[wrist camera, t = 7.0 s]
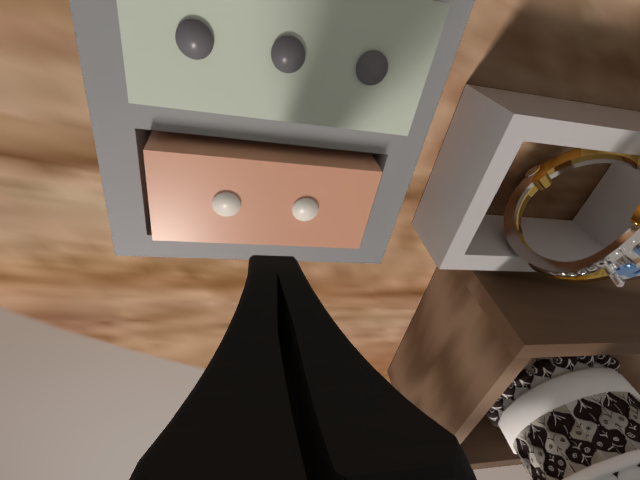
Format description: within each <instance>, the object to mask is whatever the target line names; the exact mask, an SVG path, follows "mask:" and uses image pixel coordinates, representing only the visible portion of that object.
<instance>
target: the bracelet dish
mask: <svg viewBox="0 0 640 480" xmlns="http://www.w3.org/2000/svg"><path fill="white" fill-rule="evenodd" d="M523 141H527V142H535V143H543V144H551V145H559V146H567V147H575V148H583V149H591V150H599V151H607V152H615V153H623V154H631V155H640V112H638V111H632V110H626V109H619V108H613V107H607V106H601V105H594V104H588V103H582V102H576V101H569V100H563V99H557V98H551V97H544V96H538V95H532V94H526V93H519V92H513V91H507V90H501V89H494V88H488V87H482V86H476V85H469V84H466V85H465V88H464V91H463V93H462V96H461V98H460V101H459V103H458V106H457V108H456V111H455V114H454V116H453V119H452V121H451V124H450V126H449V129H448V132H447V134H446V137H445V139H444V142H443V144H442V147H441V150H440V152H439V155H438V157H437V160H436V162H435V165H434V168H433V170H432V173H431V175H430V178H429V180H428V183H427V185H426V188H425V191H424V193H423V196H422V198H421V201H420V203H419V206H418V209H417V211H416V214H415V216H414V219H413V221H412V226H413V227H414V229H415V230H416V232H417V234H418V235H419V237H420V239H421V240H422V242H423V244H424V245H425V247H426V249H427V250H428V252H429V253H430V255H431V257H432V258H433V260H434V262H435V263H436V265H437V267H438V268H439V269H451V270H487V271H522V272H536V271H534V270H533V269H532V268H530V267H529V266H528V265H527V264H526V263H525V262H524V261H523V260H522V259H521V258H520V257H519V256H518V255H517V254H516V253H515V252H514V250H513V249H512V248H511V246H510V245H509V243H508V241H507V238H506V235H505V231H504V216H501V215H487V214H486V212H487V210H488V208H489V206H490V204H491V202H492V200H493V198H494V196H495V194H496V193H497V191H498V189H499V187H500V185H501V183H502V181H503V179H504V177H505V175H506V173H507V171H508V169H509V168H510V166H511V164H512V162H513V160H514V158H515V156H516V154H517V152H518V150H519V148H520V146H521V144H522V142H523ZM639 202H640V171H638V170H637V169H634V168H632V167H629V166H626V165H621V164H614V163H612V164H611V165H610V167H609V168H608V170H607V171H606V173H605V174H604V176H603V177H602V178H601V180H600V181H599V183H598V184H597V186H596V187H595V189H594V190H593V191H592V193H591V194H590V196H589V197H588V199H587V200H586V202H585V203H584V205H583V206H582V207H581V209H580V210H579V212H578V213H577V215H576V216H575V218H574V219H573V220H560V219H545V218H531V217H522V221H521V227H522V233H523V236H524V239H525V241H526V243H527V244H528V246H529V247H530V248H531V249H532V250H533V251H534V252H536V253H537V254H539V255H540V256H543V257H545V258H548V259H551V260H555V261H560V262H572V261H578V260H581V259H584V258H587V257H589V256H591V255H593V254H595V253H597V252H599V251H601V250H602V249H604V248H605V247H607V246H608V245H610V244H611V243H613V242H614V241H615V240H616V239H618V238H619V237H620V236H621V235H623V234H624V233H625V232H626V231H627V230H628V229H629V228H631V227H632V226H633V225H636V224H635V223H633V222H630V219H631V217H632V216H633V214H634V212H635V210H636V208H637V207H638V204H639Z"/></svg>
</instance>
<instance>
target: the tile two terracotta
mask: <svg viewBox="0 0 640 480" xmlns="http://www.w3.org/2000/svg"><path fill="white" fill-rule="evenodd" d="M143 154H144V164H145V173H146V183H147V192H148V202H149V212H150V221H151V231H152V240H156V241H181V242H206V243H230V244H255V245H280V246H305V247H330V248H355V249H359V248H360V245H361V241H362V238H363V235H364V231H365V228H366V225H367V222H368V218H369V215H370V212H371V209H372V205H373V202H374V199H375V195H376V192H377V189H378V186H379V182H380V179H381V176H382V170H381V168H380V167H379V165H378V164H377V162H376V160H375V159H374V157H373V156H372V154H371V153H367V152H358V151H348V150H338V149H329V148H319V147H310V146H300V145H290V144H281V143H271V142H262V141H252V140H242V139H233V138H223V137H214V136H204V135H194V134H185V133H175V132H166V131H156V130H152V132H151V134H150V137H149V139H148V141H147V143H146V145H145V147H144V149H143Z"/></svg>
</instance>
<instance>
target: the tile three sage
mask: <svg viewBox="0 0 640 480" xmlns="http://www.w3.org/2000/svg"><path fill="white" fill-rule="evenodd" d="M116 1H117V10H118V18H119V26H120V35H121V43H122V52H123V60H124V68H125V77H126V85H127V94H128V102H129V103H132V104H140V105H148V106H157V107H165V108H174V109H182V110H191V111H199V112H208V113H216V114H225V115H233V116H242V117H250V118H259V119H267V120H275V121H284V122H292V123H301V124H309V125H318V126H326V127H335V128H343V129H352V130H360V131H369V132H377V133H385V134H394V135H402V136H408V134H409V130H410V127H411V124H412V121H413V118H414V115H415V112H416V109H417V106H418V103H419V100H420V97H421V94H422V91H423V88H424V85H425V82H426V79H427V76H428V73H429V69H430V66H431V63H432V60H433V57H434V54H435V51H436V48H437V45H438V42H439V39H440V36H441V33H442V30H443V27H444V24H445V21H446V18H447V15H448V11H449V8H450V5H451V4H447V3H444V2H440V1H437V0H116Z"/></svg>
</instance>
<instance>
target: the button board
mask: <svg viewBox="0 0 640 480" xmlns="http://www.w3.org/2000/svg"><path fill="white" fill-rule="evenodd" d="M437 1H440V2H444V3H447V4H451V5H450V8H449V11H448V15H447V18H446V21H445V24H444V27H443V30H442V33H441V36H440V39H439V42H438V45H437V48H436V51H435V54H434V57H433V60H432V63H431V66H430V69H429V73H428V76H427V79H426V82H425V85H424V88H423V91H422V94H421V97H420V100H419V103H418V106H417V109H416V112H415V115H414V118H413V121H412V124H411V127H410V130H409V134H408V136H402V135H394V134H385V133H377V132H369V131H360V130H352V129H343V128H335V127H326V126H318V125H309V124H301V123H292V122H284V121H275V120H267V119H259V118H250V117H242V116H233V115H225V114H216V113H208V112H199V111H191V110H182V109H174V108H165V107H157V106H148V105H140V104H132V103H129V102H128V94H127V85H126V77H125V68H124V60H123V52H122V43H121V35H120V26H119V18H118V10H117V1H116V0H69V4H70V9H71V15H72V20H73V26H74V31H75V36H76V42H77V47H78V53H79V58H80V64H81V69H82V75H83V80H84V86H85V91H86V97H87V102H88V108H89V113H90V119H91V124H92V130H93V135H94V141H95V146H96V152H97V157H98V163H99V168H100V174H101V179H102V185H103V190H104V196H105V201H106V207H107V212H108V218H109V223H110V229H111V234H112V240H113V245H114V251H115V255H118V256H150V257H182V258H215V259H247V260H249V258H250V257H251V256H253V255H268V256H294V258H295V259H296V260H297V261H312V262H344V263H377V264H381V261H382V258H383V256H384V253H385V250H386V247H387V245H388V242H389V239H390V236H391V233H392V231H393V228H394V225H395V222H396V219H397V217H398V214H399V211H400V208H401V205H402V203H403V200H404V197H405V194H406V191H407V189H408V186H409V183H410V180H411V177H412V175H413V172H414V169H415V166H416V164H417V161H418V158H419V155H420V152H421V150H422V147H423V144H424V141H425V138H426V136H427V133H428V130H429V127H430V124H431V122H432V119H433V116H434V113H435V110H436V108H437V105H438V102H439V99H440V96H441V94H442V91H443V88H444V85H445V83H446V80H447V77H448V74H449V71H450V69H451V66H452V63H453V60H454V57H455V55H456V52H457V49H458V46H459V43H460V41H461V38H462V35H463V32H464V29H465V27H466V24H467V21H468V18H469V15H470V13H471V10H472V7H473V4H474V2H475V0H437ZM152 130H156V131H166V132H175V133H185V134H194V135H204V136H214V137H223V138H233V139H242V140H252V141H262V142H271V143H281V144H290V145H300V146H310V147H319V148H329V149H338V150H348V151H358V152H367V153H371V154H372V156H373V157H374V159H375V160H376V162H377V164H378V165H379V167H380V168H381V170H382V176H381V179H380V182H379V186H378V189H377V192H376V195H375V199H374V202H373V205H372V209H371V212H370V215H369V218H368V222H367V225H366V228H365V231H364V235H363V238H362V241H361V245H360V248H359V249H355V248H330V247H305V246H280V245H255V244H230V243H206V242H181V241H156V240H152V231H151V221H150V212H149V202H148V192H147V183H146V173H145V164H144V154H143V149H144V147H145V145H146V143H147V141H148V139H149V137H150V134H151V132H152Z"/></svg>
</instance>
